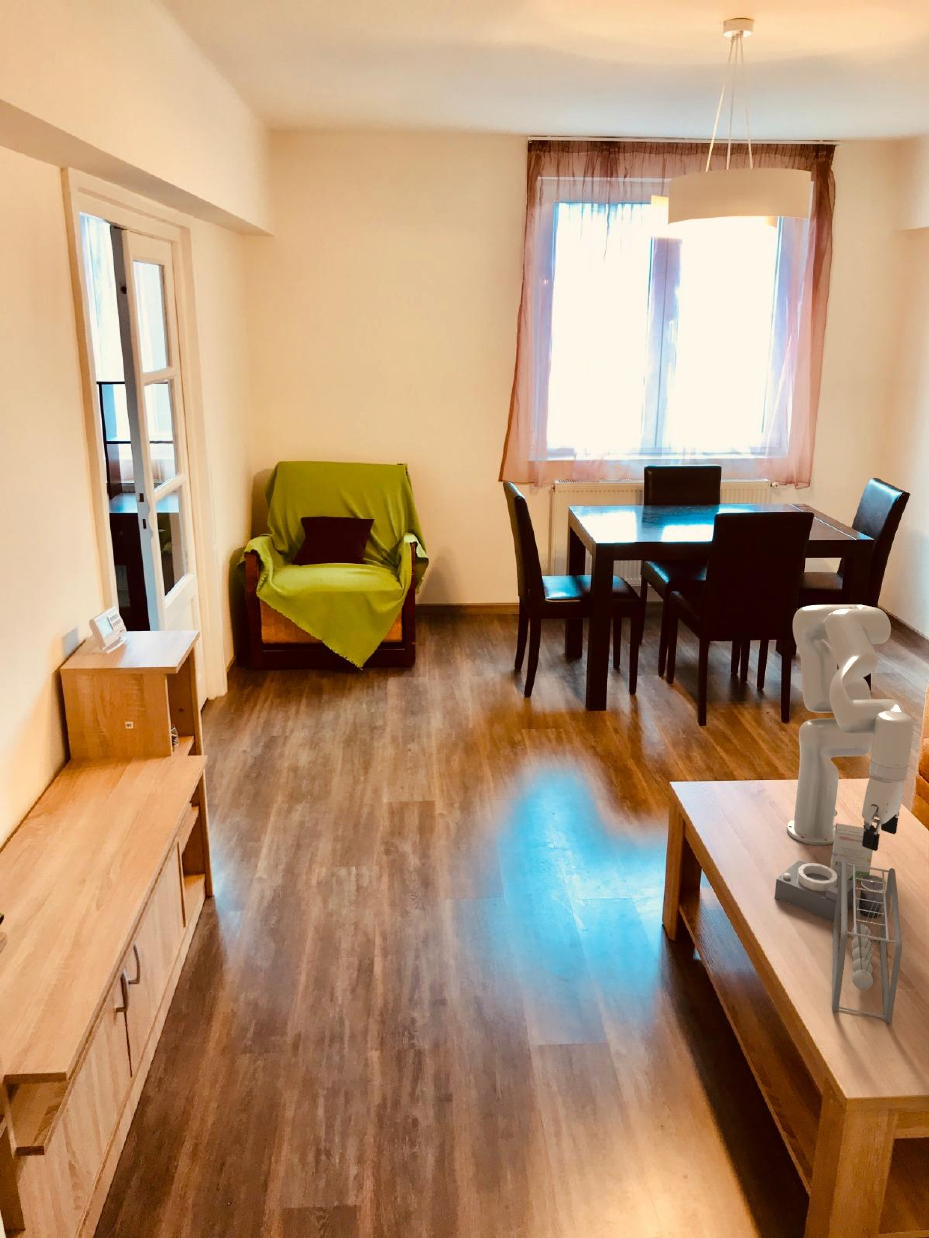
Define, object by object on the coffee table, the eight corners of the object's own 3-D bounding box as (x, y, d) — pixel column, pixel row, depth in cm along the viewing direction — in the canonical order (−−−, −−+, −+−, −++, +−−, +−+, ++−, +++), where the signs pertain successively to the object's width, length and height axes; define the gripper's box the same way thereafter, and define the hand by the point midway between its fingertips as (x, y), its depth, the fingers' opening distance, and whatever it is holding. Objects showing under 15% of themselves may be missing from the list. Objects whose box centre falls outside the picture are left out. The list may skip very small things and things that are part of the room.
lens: (863, 902, 220) (867, 872, 218) (885, 911, 217) (889, 880, 215) (853, 912, 217) (857, 881, 215) (876, 921, 214) (880, 889, 211)
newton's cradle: (833, 926, 212) (841, 855, 207) (884, 936, 208) (895, 864, 203) (831, 1015, 185) (841, 936, 180) (890, 1028, 182) (902, 947, 176)
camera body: (797, 878, 230) (799, 852, 228) (854, 902, 221) (858, 875, 219) (774, 897, 223) (777, 870, 221) (833, 922, 213) (836, 895, 211)
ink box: (830, 876, 231) (835, 832, 227) (829, 865, 236) (834, 822, 232) (868, 882, 228) (874, 838, 225) (867, 871, 233) (873, 827, 229)
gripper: (887, 751, 215) (878, 820, 220) (853, 776, 203) (845, 848, 208) (922, 761, 210) (912, 831, 215) (889, 787, 198) (879, 861, 203)
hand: (879, 839), depth 211 cm, fingers open, 9 cm apart
